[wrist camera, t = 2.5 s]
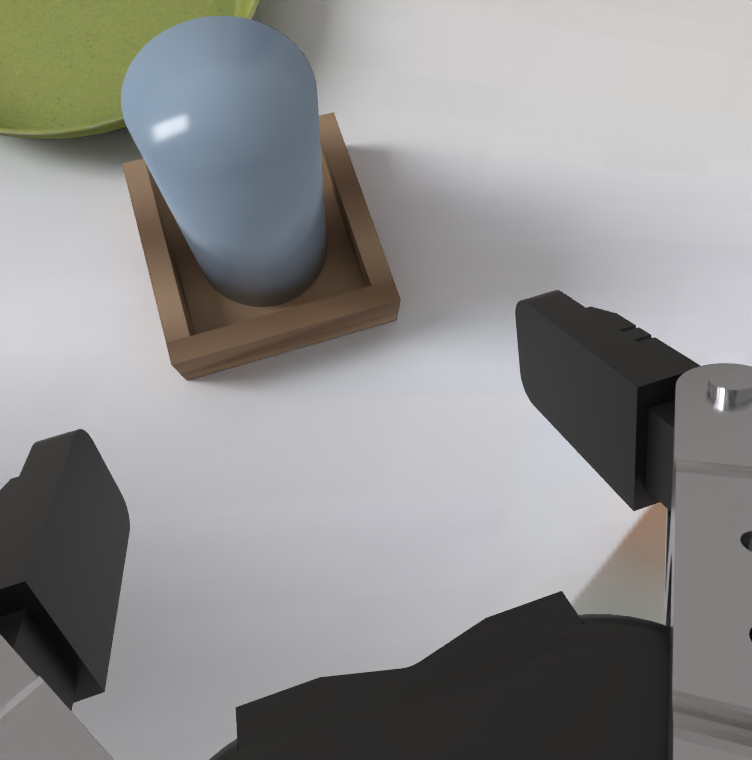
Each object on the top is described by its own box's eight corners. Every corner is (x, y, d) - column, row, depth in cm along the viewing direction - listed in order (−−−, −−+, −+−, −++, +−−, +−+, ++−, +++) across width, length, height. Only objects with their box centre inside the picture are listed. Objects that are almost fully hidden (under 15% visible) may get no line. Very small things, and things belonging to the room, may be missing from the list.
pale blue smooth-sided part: (342, 287, 28) (340, 151, 18) (215, 322, 27) (143, 199, 18) (296, 147, 30) (273, -43, 20) (176, 176, 29) (92, -6, 20)
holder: (396, 319, 29) (400, 299, 26) (186, 380, 27) (171, 364, 25) (334, 145, 31) (333, 112, 29) (139, 193, 30) (122, 163, 28)
